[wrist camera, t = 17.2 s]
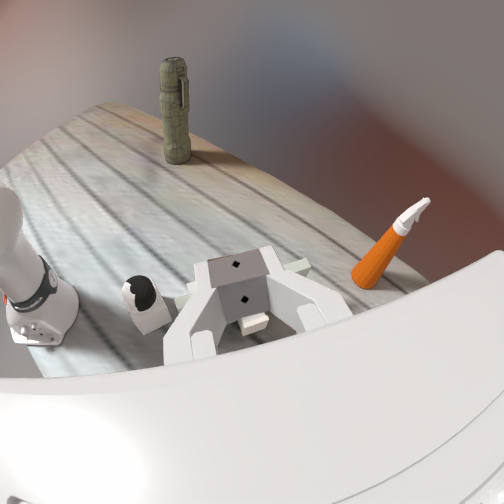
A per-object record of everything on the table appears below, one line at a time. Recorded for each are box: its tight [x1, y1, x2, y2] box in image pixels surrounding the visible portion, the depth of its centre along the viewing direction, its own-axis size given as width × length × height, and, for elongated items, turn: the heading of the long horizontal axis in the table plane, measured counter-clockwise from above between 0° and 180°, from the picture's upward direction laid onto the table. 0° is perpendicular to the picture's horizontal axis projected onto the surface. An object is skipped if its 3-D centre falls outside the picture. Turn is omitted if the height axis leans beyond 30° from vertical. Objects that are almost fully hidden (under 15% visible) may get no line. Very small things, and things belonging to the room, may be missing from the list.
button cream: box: [237, 312, 269, 336], centre depth 50 cm, size 5×9×5 cm, turn 23°
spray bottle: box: [352, 198, 430, 289], centre depth 55 cm, size 7×11×26 cm, turn 118°
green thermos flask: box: [159, 57, 191, 165], centre depth 71 cm, size 9×12×35 cm
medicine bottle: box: [122, 275, 172, 335], centre depth 49 cm, size 7×7×12 cm
